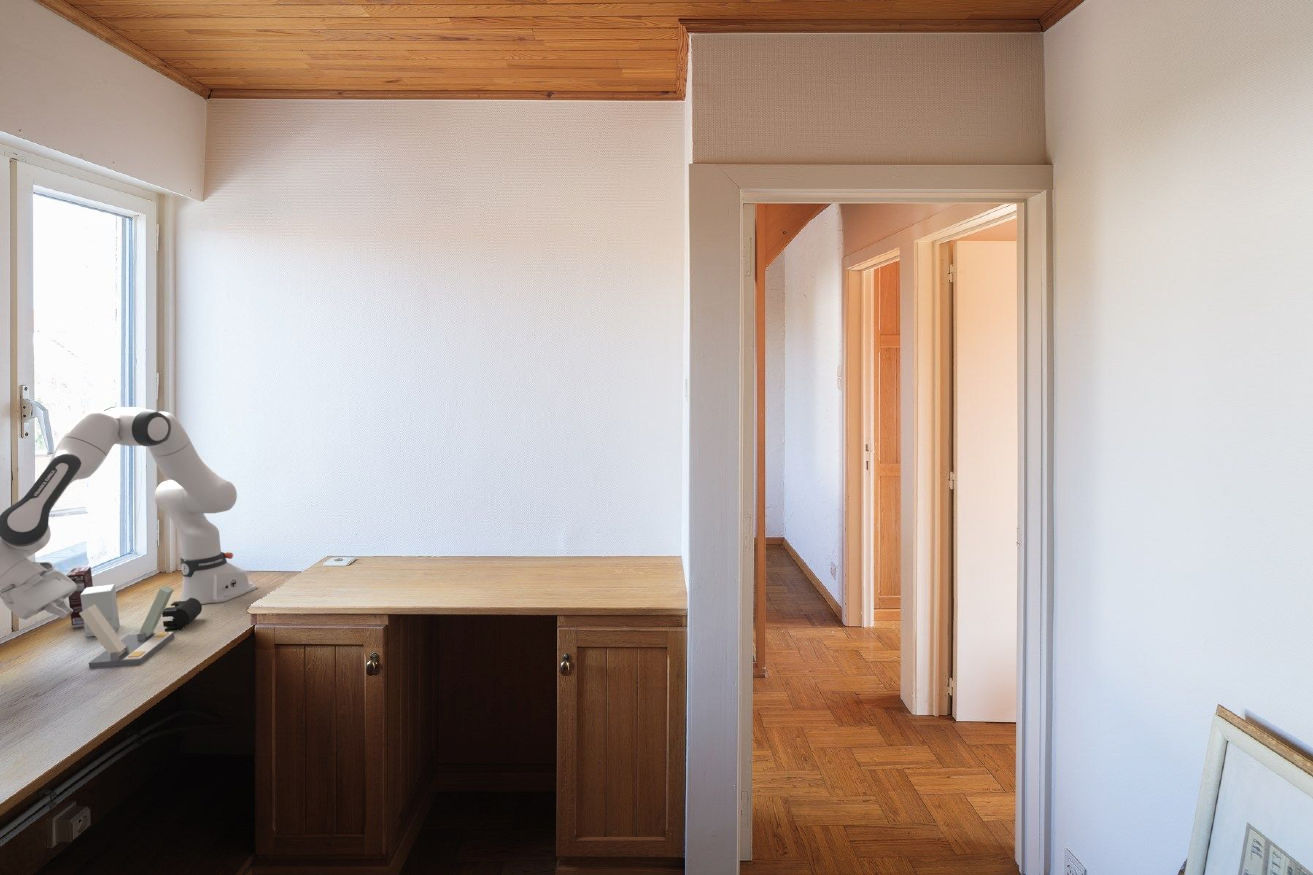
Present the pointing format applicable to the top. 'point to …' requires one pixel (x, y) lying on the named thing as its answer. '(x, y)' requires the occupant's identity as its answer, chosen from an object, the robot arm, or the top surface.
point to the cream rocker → (103, 630)
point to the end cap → (181, 614)
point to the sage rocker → (156, 610)
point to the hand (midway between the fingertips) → (68, 614)
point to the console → (133, 650)
